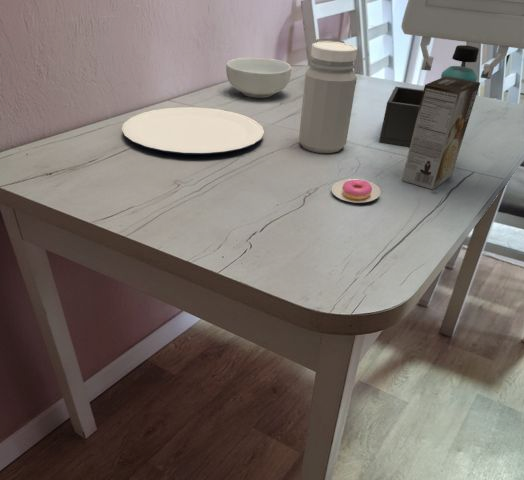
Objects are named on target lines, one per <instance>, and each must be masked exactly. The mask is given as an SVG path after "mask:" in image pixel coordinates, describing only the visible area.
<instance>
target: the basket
mask: <svg viewBox="0 0 524 480" xmlns="http://www.w3.org/2000/svg"><path fill="white" fill-rule="evenodd" d="M423 91H424V89H418V88H412V87H411V88H409V87H402V86H394V89H393V90H392V92H391V94H390V96H389V97H388V100H387V102H386V106H385V110H384V115H383V120H382V125H381V131H380V135H379V139H378V142H379V143H382V144H389V145H395V146H402V147H408V148H410V145H411V140H412V136H413V132H414V128H415V124H416V120H417V116H418V112H419V107H420V103H421V99H422V95H423Z"/></svg>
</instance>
